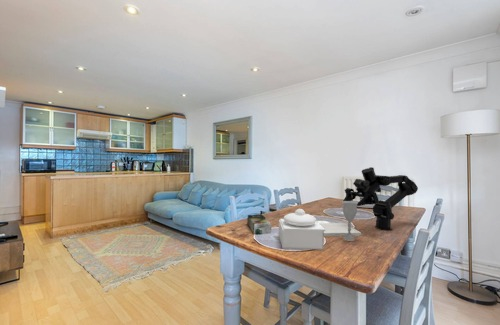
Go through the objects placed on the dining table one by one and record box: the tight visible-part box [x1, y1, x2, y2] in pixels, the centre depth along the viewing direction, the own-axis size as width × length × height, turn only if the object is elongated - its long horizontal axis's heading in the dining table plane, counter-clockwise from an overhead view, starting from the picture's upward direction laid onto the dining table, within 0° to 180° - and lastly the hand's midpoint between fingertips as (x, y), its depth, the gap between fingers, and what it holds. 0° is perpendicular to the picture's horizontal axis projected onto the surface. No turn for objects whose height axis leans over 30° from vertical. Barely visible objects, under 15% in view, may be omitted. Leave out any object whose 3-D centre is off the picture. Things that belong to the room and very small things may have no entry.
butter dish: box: [278, 208, 325, 251], centre depth 108 cm, size 18×18×16 cm
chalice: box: [341, 200, 359, 242], centre depth 112 cm, size 7×7×18 cm
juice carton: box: [246, 214, 272, 235], centre depth 128 cm, size 20×10×6 cm, turn 12°
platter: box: [318, 222, 362, 237], centre depth 126 cm, size 20×18×2 cm
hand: (350, 203), depth 121 cm, fingers open, 9 cm apart
